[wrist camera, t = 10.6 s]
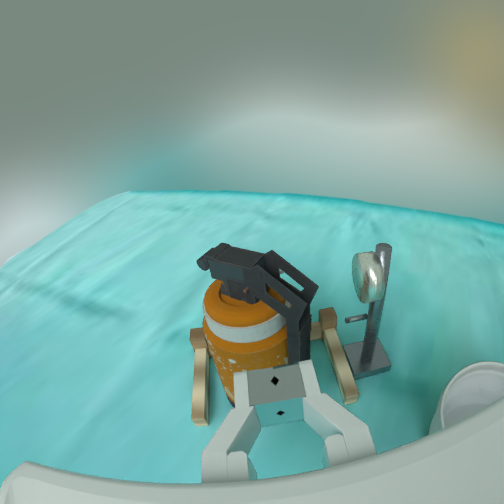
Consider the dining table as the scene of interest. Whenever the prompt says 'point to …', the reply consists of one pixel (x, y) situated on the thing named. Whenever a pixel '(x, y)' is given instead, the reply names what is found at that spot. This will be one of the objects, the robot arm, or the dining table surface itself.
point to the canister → (254, 312)
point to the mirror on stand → (369, 311)
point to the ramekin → (469, 393)
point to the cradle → (319, 331)
